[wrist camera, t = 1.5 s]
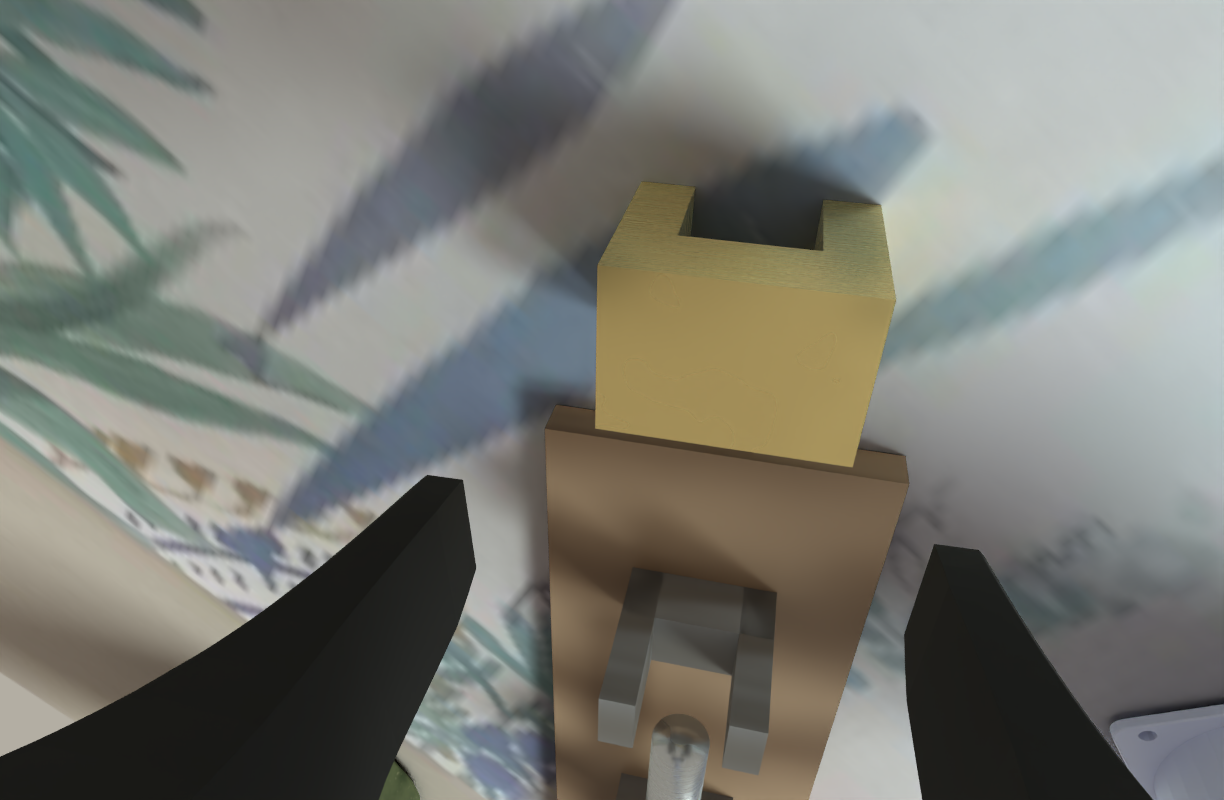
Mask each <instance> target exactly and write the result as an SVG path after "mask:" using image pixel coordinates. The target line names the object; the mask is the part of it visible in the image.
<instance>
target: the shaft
mask: <svg viewBox="0 0 1224 800" xmlns="http://www.w3.org/2000/svg"><path fill="white" fill-rule="evenodd" d="M709 747H710V739H709V735H708V732H707V730H706V728H705V727H704V726H703V725H702V723H701V722H699V721H698V720H697V719H695V718H693V717H691V716H689V715H685V714H671V715H668V716H666V717H664V718H662V719H661V720H660V721H659V722H658V723H657V724H656V725H655V727H654V729H653V732H652V740H651V750H650V761H649V772H648V783H647V794H646V800H701V794H702V788H703V783H704V777H705V771H706V765H707V759H708V753H709Z"/></svg>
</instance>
